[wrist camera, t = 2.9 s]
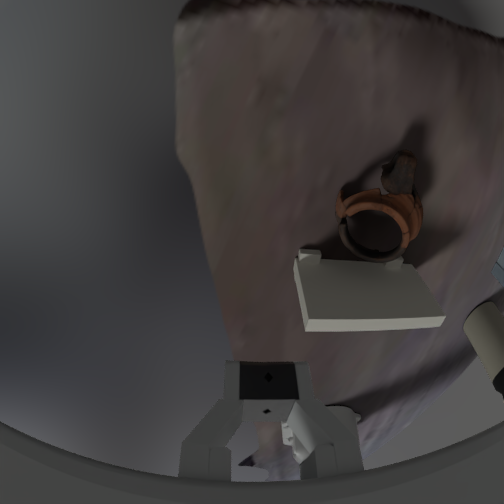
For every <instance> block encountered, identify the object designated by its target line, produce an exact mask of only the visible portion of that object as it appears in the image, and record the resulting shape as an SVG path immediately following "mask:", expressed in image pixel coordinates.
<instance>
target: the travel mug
mask: <svg viewBox="0 0 504 504" xmlns="http://www.w3.org/2000/svg"><path fill="white" fill-rule="evenodd" d="M463 330H464V332H465V334H466V335H467V337H468V339H469V340H470V342H471V344H472V346H473V347H474V349H475V351H476V353H477V355H478V356H479V358H480V360H481V361H482V364H483V365H484V368H485V369H486V371H487V373H488V375H489V377H490V379H491V381H492V383H493V385H494V387H495V389H496V391H498V392H500V393H501V394H502V395H503V399H504V317H503V315H502V314H501V312H500V311H499V310H498V308H497V307H496V305H495V304H494V303H493V302H486V303H483V304H482V305H480V306H478V307H477V308H476V309H475V310H474V311H473V312H472V313H471V314H470V315H469V317H468V318H467V320H466V321H465V323H464V327H463ZM503 403H504V401H503Z"/></svg>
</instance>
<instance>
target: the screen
mask: <svg viewBox="0 0 504 504" xmlns="http://www.w3.org/2000/svg"><path fill="white" fill-rule="evenodd" d="M403 261H404V259H403V258H402V257H401V256H400V257H399V258H397V259H396V260H394V261H390V262H385V263H374V262H364V261H347V260H330V259H321V252H320V250H310V249H299V255H298V258H295V262H294V268H293V270H294V275H295V276H294V278H295V282H296V285H297V290H298V295H299V300H300V305H301V311H302V316H303V321H304V327H305V331H374V330H396V329H413V328H428V327H440V326H441V324H442V322H443V321H444V319H445V317H446V315H445V313H444V312H443V310H442V309H441V307H440V305H439V304H438V302H437V301H436V299H435V298H434V296H433V295H432V293H431V291H430V290H429V288H428V287H427V285H426V284H425V282H424V281H423V280H422V278H421V277H420V275H419V274H418V272H417V271H416V269H415V268H414V267H413V265H412V264H402V263H403Z"/></svg>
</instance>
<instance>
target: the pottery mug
mask: <svg viewBox="0 0 504 504" xmlns="http://www.w3.org/2000/svg"><path fill="white" fill-rule="evenodd" d="M416 166H417V158H416V157H415V156H414V155H413V153H412V152H411V151H408V150H402V151H398V152H397V154H396V155H395V157H394V158H393V160H392V161H391V162H390V163H388V164H385V165H382V169H383V172H382V176H381V182H382V185H383V187H384V189H385V190H386V191H387V192H389V194H387V195H382V194H381V191H380V189H379V188H376V189H371V190H366V191H362V192H360V193H357V194H354V195H352V196H350V197H348V198H347V199H345V200H344V197H343V196H344V192H343V191H342V190H340V191H339V194H338V197H337V201H336V212H335V214H336V218H337V222H338V229H339V234H340V237H341V240H342V242H343V243H344V245H345V246H346V247H347V248H348V249H349V250H350V251H351V252H352V253H353V254H354V255H356V256H358V257H359V258H361V259H363V260H366V261H369V262H374V263H385V262H390V261H394V260H396V259H397V258H399V257H400V256H401V255H402V254H403V253H404V252H405V251H406V248H407V247H408V244H409V241H411V240H413V239H414V238H416V236H417V235H418V233H419V231H420V228H421V225H422V219H423V207H422V204H421V200H420V197H419V195H418V192H417V190H416V188H415V186H414V184H413V182H414V173H415V169H416ZM411 193H412V194H411ZM361 210H379V211H383V212H385V213H387V214H388V215H390V216H391V217H392V218H393V219H394V220H395V221H396V222H397V223H398V224H399V226H400V228H401V231H402V240H401V243H400V244H399V246H398V247H396V248H395V249H393V250H391V251H388V252H379V250H371V249H367V248H365V247H363V246H361V245H360V244H358V243H356V242H355V240H354V239H353V238H352V237H351V236H350V234H349V232H348V228H347V220H346V217H347V215H348V216H352V215H354V214H355V213H357V212H359V211H361Z"/></svg>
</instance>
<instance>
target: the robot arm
mask: <svg viewBox="0 0 504 504" xmlns="http://www.w3.org/2000/svg"><path fill="white" fill-rule="evenodd" d="M360 419H361V415H360V414H357V413H354V412H353V410H352V409H350V408H348V407H344V406H328V407H326V406H325V405H324V404H323V403H322V402H321V401H320V400H319V399H315V397H314V392H313V386H312V380H311V374H310V369H309V364H308V362H306V361H305V362H293V361H292V362H247V361H240V362H239V361H228V360H226V362H225V373H224V393H223V399H219V400H218V401H217V402H216V404H215V405H214V406H213V407H212V408H211V410H210V411H209V412H208V413H207V414H206V415H205V417H204V418H203V419H202V420H201V421H200V422H199V424H198V425H197V426H196V427H195V428H194V430H193V431H192V432H191V433H190V434H189V435H188V436H187V437H186V439H185V440H184V441H183V442H182V446H181V455H180V464H179V474H178V477H173V476H167V475H160V474H154V473H149V472H143V471H138V470H134V469H129V468H125V467H120V466H116V465H112V464H109V463H105V462H101V461H97V460H94V459H91V458H87V457H84V456H81V455H78V454H75V453H72V452H69V451H66V450H64V449H61V448H58V447H55V446H53V445H50V444H48V443H45V442H43V441H41V440H38V439H36V438H34V437H31V436H29V435H27V434H25V433H23V432H20V431H18V430H16V429H14V428H12V427H10V426H8V425H6V424H4V423H2V422H1V421H0V504H504V421H502V422H501V423H499V424H497V425H495V426H493V427H491V428H489V429H487V430H485V431H483V432H480V433H478V434H476V435H474V436H472V437H469V438H467V439H465V440H462V441H460V442H458V443H455V444H452V445H450V446H447V447H445V448H442V449H439V450H436V451H434V452H431V453H428V454H425V455H422V456H419V457H415V458H412V459H409V460H405V461H402V462H399V463H394V464H391V465H387V466H382V467H379V468H374V469H369V470H364V467H363V462H362V457H361V452H360V447H359V445H360V443H359V434H358V426H357V422H358V421H359V420H360ZM260 421H269V422H281V427H282V436H283V443H284V444H285V445H292V449H293V458H294V459H295V460H296V461H297V462H298V463H299V464H300V465H299V468H300V479H301V480H291V481H272V482H231V450H230V449H228V448H227V447H225V446H226V445H227V443H228V442H229V440H230V439H231V438H232V436H233V435H234V433H235V432H236V430H237V429H238V427H239V426H240V424H241V423H242V422H260Z"/></svg>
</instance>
